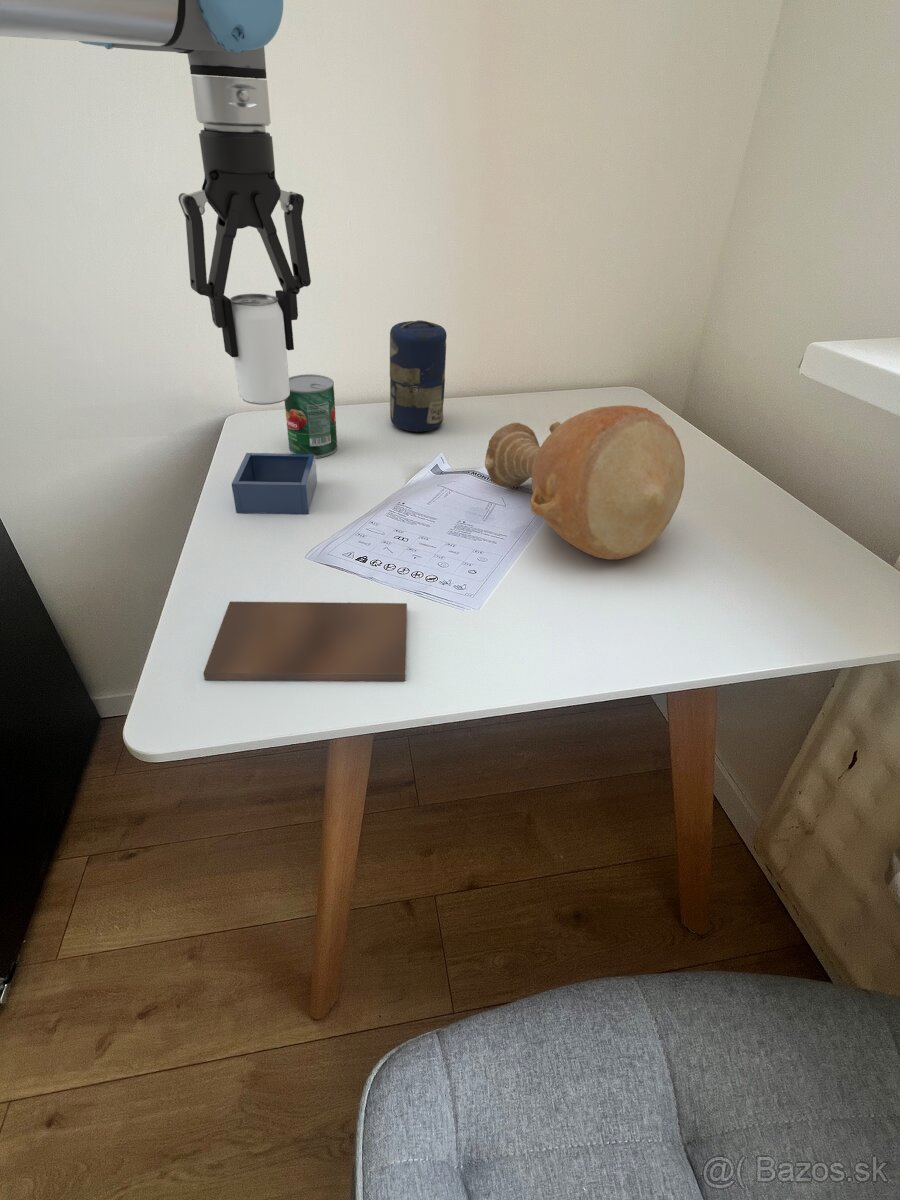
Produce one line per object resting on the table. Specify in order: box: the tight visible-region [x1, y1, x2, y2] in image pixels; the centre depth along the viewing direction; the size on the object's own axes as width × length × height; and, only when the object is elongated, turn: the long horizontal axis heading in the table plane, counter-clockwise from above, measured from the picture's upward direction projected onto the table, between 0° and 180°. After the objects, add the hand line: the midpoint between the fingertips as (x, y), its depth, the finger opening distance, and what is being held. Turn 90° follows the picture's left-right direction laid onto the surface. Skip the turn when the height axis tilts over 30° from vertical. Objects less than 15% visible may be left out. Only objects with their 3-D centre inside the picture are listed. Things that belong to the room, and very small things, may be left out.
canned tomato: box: [283, 373, 338, 459], centre depth 112 cm, size 8×8×11 cm
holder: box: [231, 452, 318, 515], centre depth 100 cm, size 10×10×4 cm
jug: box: [484, 404, 686, 560], centre depth 93 cm, size 20×19×30 cm
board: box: [202, 601, 408, 682], centre depth 75 cm, size 20×12×1 cm, turn 92°
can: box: [229, 293, 290, 406], centre depth 87 cm, size 6×6×12 cm
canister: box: [389, 319, 448, 433], centre depth 119 cm, size 10×10×18 cm
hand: (259, 350), depth 87 cm, fingers closed on can, 6 cm apart
